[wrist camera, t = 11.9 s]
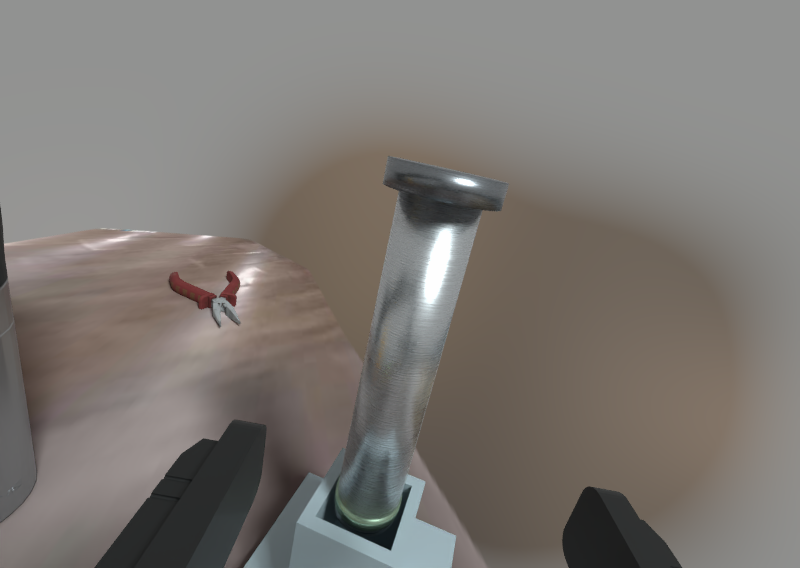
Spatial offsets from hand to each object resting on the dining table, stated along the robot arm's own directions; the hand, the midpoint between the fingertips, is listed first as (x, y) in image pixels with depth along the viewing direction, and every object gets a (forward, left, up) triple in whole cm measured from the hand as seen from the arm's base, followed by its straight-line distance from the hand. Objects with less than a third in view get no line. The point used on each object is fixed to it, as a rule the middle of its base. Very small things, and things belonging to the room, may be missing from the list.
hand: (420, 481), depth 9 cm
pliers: (-44, +42, -24) cm, 65 cm away
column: (-3, +10, -14) cm, 18 cm away
